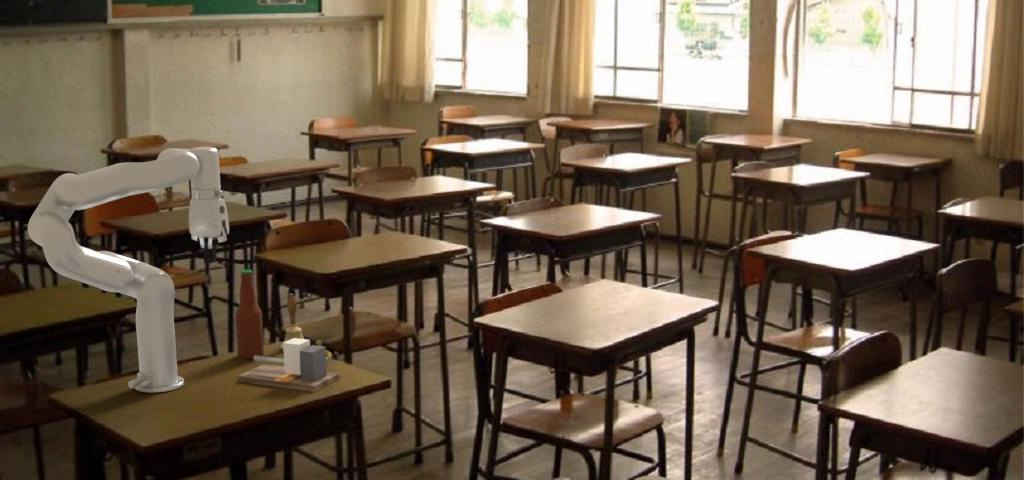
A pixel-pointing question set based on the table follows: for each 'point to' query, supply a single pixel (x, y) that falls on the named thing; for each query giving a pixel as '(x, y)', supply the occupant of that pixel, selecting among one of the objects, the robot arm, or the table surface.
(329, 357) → the seal
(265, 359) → the metal rod
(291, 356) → the sleeve
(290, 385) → the board
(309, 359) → the connector block
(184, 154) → the robot arm
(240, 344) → the bottle
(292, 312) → the hand bell
